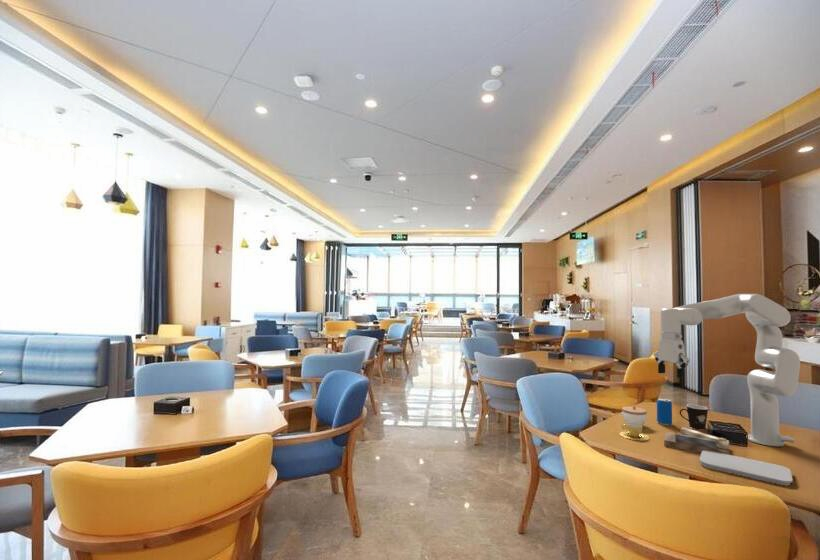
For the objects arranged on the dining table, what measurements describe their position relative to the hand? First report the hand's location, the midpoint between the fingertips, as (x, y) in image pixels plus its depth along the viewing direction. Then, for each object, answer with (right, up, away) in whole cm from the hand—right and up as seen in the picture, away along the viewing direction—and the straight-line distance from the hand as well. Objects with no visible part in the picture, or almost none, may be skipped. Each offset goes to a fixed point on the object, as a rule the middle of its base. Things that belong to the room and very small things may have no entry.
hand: (670, 375), depth 177 cm
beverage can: (+13, -31, +25) cm, 42 cm away
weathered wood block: (+7, -29, -6) cm, 31 cm away
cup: (-12, -30, +7) cm, 33 cm away
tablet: (+9, -29, -27) cm, 41 cm away
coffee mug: (+25, -31, +21) cm, 45 cm away
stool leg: (+10, -26, -7) cm, 29 cm away
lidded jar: (-3, -30, +23) cm, 38 cm away
